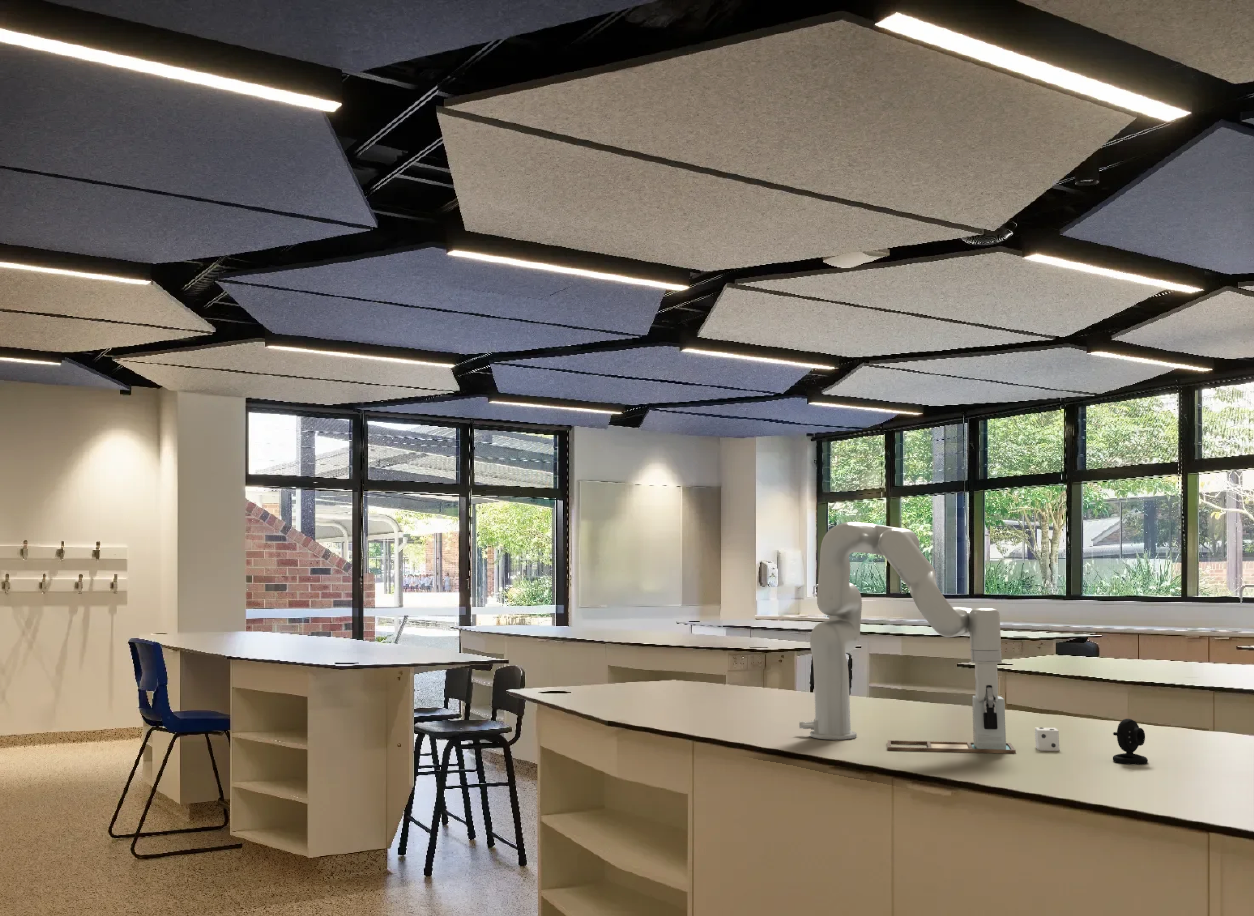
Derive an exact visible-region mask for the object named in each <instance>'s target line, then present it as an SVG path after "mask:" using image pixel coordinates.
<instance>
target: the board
mask: <svg viewBox="0 0 1254 916" xmlns="http://www.w3.org/2000/svg"><path fill="white" fill-rule="evenodd" d="M891 745H918V746H919V745H921V746H922V745H923V746H924V745H925V746H927V747H914V746H913V747H911V746H891ZM887 751H896V752H899V751H900V752H937V753H938V752H939V753H940V752H941V753H942V752H943V753H976V754H978V753H979V754H982V753H983V754H1013V755H1014V754H1017V753H1016V749H1015V747H1014V746H1013V745H1012V743H1011V742H1006V750H1005V749H977V748H976V747H975V746H974V741H942V740H941V741H939V740H938V741H937V740H936V741H934V740H933V741H931V740H894V739H893V740H892V739H891V740H890V739H887Z"/></svg>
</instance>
